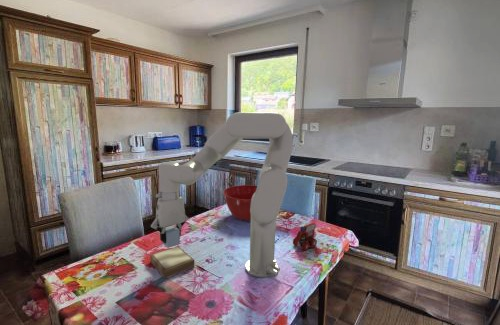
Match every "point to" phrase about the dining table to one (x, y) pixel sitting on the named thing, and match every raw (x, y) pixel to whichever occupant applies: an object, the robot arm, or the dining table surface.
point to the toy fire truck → (305, 237)
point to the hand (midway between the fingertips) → (170, 239)
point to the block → (172, 236)
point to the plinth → (172, 261)
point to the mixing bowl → (240, 200)
